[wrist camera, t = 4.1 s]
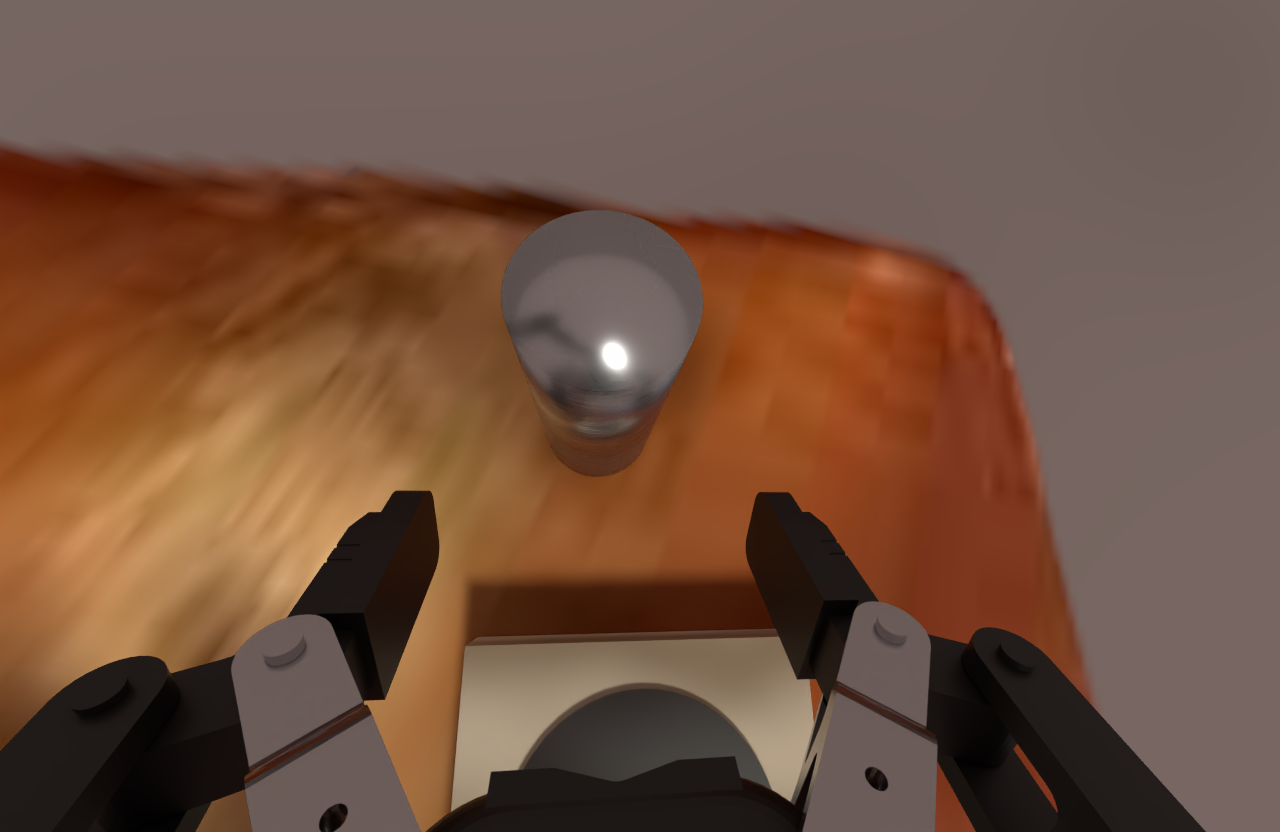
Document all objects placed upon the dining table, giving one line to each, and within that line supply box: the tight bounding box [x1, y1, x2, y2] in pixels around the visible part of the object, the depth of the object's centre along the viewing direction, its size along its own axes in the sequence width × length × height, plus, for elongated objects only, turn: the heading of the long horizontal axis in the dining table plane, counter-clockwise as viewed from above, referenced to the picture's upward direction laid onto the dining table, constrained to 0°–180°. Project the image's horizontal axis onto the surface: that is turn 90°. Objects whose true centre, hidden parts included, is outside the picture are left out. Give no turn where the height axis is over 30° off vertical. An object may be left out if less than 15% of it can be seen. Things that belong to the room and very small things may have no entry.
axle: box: [501, 210, 703, 477], centre depth 16 cm, size 4×4×11 cm
